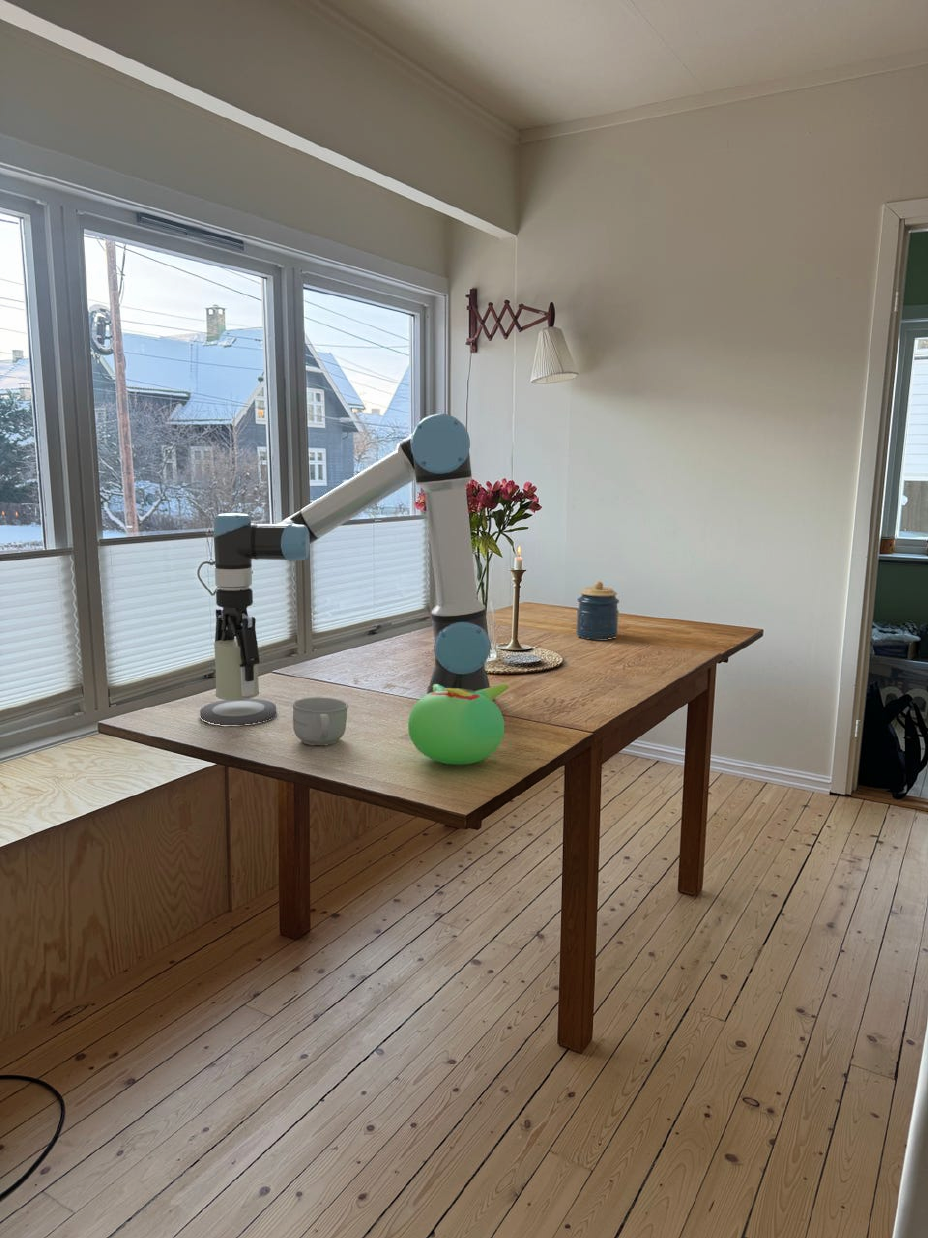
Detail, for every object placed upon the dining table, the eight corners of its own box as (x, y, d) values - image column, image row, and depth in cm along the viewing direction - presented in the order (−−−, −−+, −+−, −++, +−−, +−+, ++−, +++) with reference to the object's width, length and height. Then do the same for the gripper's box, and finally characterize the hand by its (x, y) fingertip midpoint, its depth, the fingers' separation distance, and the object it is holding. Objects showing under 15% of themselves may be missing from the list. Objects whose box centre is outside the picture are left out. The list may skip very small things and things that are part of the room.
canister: (576, 631, 283) (578, 577, 280) (616, 633, 282) (619, 579, 278) (575, 640, 271) (577, 583, 267) (618, 642, 269) (620, 585, 266)
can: (248, 701, 184) (246, 646, 182) (207, 698, 186) (205, 643, 183) (266, 690, 193) (265, 637, 191) (227, 687, 195) (225, 634, 192)
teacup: (296, 733, 179) (295, 695, 178) (349, 732, 180) (349, 694, 178) (288, 756, 165) (287, 715, 164) (346, 755, 166) (345, 715, 165)
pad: (289, 717, 189) (289, 710, 189) (220, 731, 179) (220, 724, 179) (254, 700, 201) (254, 694, 201) (188, 713, 191) (187, 706, 191)
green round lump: (394, 768, 160) (394, 691, 157) (430, 740, 175) (430, 669, 173) (487, 782, 154) (488, 702, 151) (516, 752, 169) (517, 679, 166)
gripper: (275, 592, 179) (277, 698, 183) (227, 579, 195) (231, 677, 200) (241, 595, 174) (244, 704, 179) (195, 582, 190) (199, 682, 195)
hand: (237, 690), depth 189 cm, fingers closed on can, 9 cm apart
